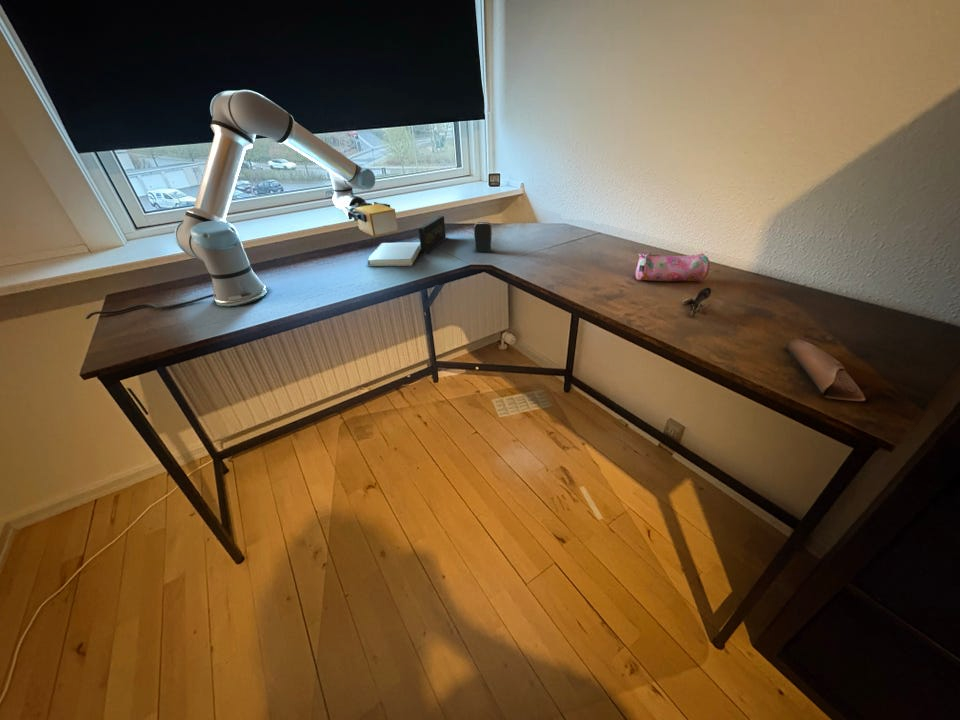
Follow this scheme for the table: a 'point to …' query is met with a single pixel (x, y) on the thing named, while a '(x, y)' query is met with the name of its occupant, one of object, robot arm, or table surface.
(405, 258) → the block
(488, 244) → the battery charger
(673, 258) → the pencil case
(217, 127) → the robot arm
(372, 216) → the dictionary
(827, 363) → the sunglasses case
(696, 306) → the eagle figurine
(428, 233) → the nameplate
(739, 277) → the table surface
